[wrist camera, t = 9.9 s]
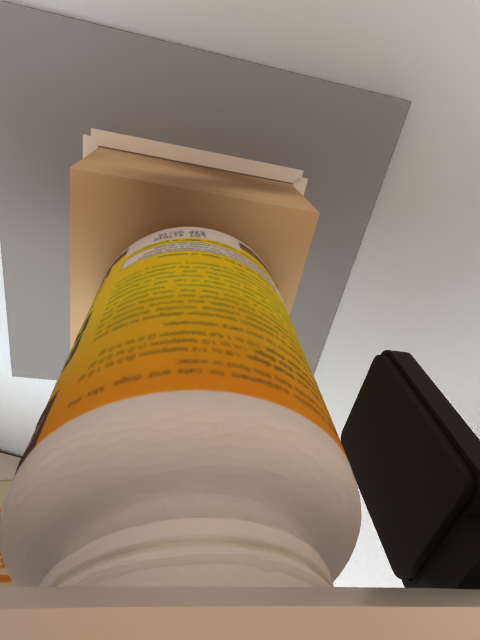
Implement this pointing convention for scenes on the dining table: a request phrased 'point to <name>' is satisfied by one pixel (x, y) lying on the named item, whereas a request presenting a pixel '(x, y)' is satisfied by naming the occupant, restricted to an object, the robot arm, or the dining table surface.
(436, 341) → the dining table surface
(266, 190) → the oak block
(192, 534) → the supplement bottle
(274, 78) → the flat gray board
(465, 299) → the dining table surface
